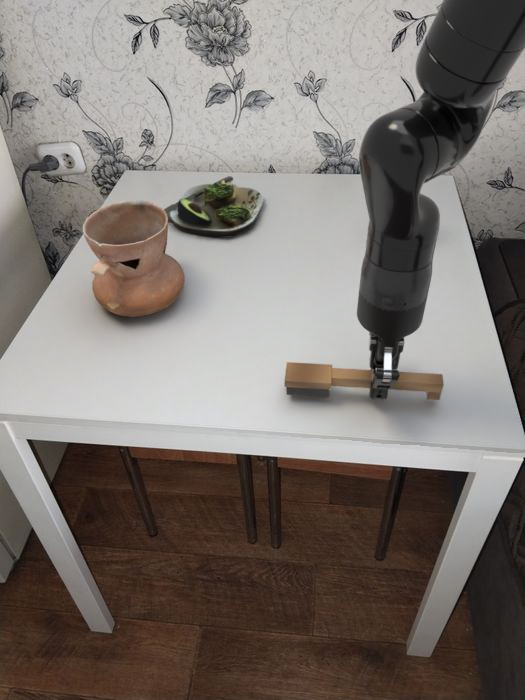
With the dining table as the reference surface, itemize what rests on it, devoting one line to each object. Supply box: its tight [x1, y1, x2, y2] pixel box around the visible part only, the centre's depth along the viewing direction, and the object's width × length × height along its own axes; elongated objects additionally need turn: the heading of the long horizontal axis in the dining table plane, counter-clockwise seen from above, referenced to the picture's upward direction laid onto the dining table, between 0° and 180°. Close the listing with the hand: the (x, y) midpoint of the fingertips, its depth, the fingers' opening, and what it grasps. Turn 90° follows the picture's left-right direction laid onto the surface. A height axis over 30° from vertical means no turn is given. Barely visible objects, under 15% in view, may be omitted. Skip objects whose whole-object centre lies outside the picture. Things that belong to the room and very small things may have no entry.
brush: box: [284, 361, 445, 401], centre depth 77 cm, size 20×3×3 cm, turn 83°
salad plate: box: [163, 175, 265, 238], centre depth 113 cm, size 19×18×5 cm
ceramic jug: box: [82, 199, 186, 318], centre depth 91 cm, size 18×14×14 cm
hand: (377, 389), depth 77 cm, fingers closed on brush, 2 cm apart
